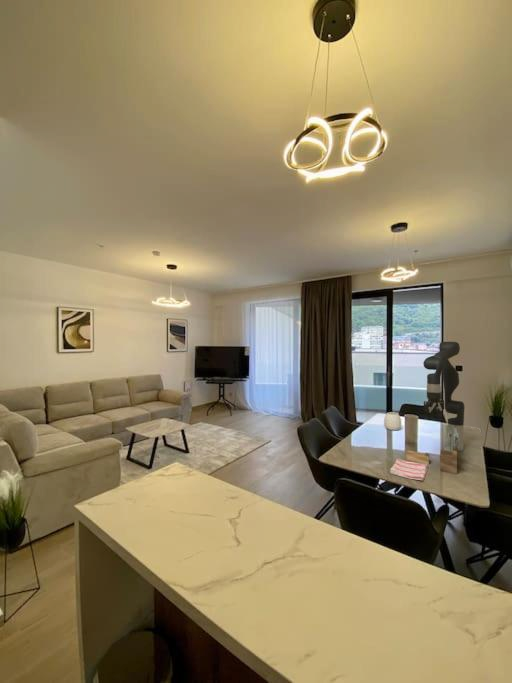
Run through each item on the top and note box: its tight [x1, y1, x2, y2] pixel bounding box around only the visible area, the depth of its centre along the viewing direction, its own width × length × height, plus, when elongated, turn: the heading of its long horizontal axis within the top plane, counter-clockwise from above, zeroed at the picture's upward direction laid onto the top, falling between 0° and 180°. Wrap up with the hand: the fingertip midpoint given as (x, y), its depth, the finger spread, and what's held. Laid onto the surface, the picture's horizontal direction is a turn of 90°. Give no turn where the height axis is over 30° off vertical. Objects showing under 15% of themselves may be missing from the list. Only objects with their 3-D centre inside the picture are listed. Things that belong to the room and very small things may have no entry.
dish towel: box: [389, 458, 429, 482], centre depth 172 cm, size 17×23×4 cm
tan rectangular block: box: [406, 450, 430, 465], centre depth 185 cm, size 4×12×6 cm, turn 57°
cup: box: [383, 411, 402, 431], centre depth 252 cm, size 13×13×14 cm
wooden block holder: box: [439, 446, 458, 475], centre depth 173 cm, size 11×8×14 cm
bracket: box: [443, 425, 459, 451], centre depth 186 cm, size 28×7×20 cm, turn 150°
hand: (434, 417), depth 181 cm, fingers open, 8 cm apart
